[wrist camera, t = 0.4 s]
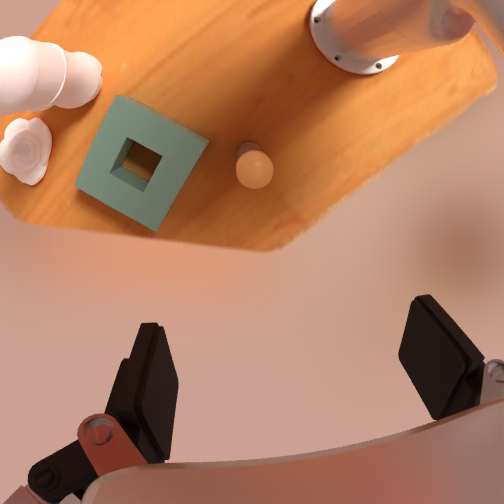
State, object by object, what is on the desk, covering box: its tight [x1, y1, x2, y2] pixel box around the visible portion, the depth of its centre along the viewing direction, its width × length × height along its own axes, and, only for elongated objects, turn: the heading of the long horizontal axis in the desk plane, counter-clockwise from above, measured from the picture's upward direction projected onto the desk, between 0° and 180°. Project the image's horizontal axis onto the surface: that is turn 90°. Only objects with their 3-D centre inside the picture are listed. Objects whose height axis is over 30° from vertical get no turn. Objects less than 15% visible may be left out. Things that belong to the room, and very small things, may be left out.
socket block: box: [75, 95, 210, 233], centre depth 36 cm, size 12×12×4 cm
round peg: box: [236, 142, 274, 189], centre depth 34 cm, size 3×3×11 cm
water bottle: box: [0, 36, 103, 116], centre depth 21 cm, size 7×7×25 cm
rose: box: [0, 118, 52, 185], centre depth 34 cm, size 10×4×10 cm
